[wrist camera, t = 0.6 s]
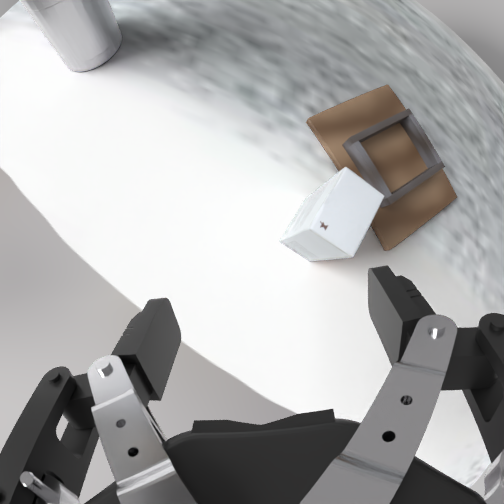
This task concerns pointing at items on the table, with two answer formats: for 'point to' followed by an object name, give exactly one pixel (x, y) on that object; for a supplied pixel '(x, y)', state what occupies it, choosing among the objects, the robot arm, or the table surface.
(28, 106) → the table surface
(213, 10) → the table surface
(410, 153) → the holder
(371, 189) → the skincare box
